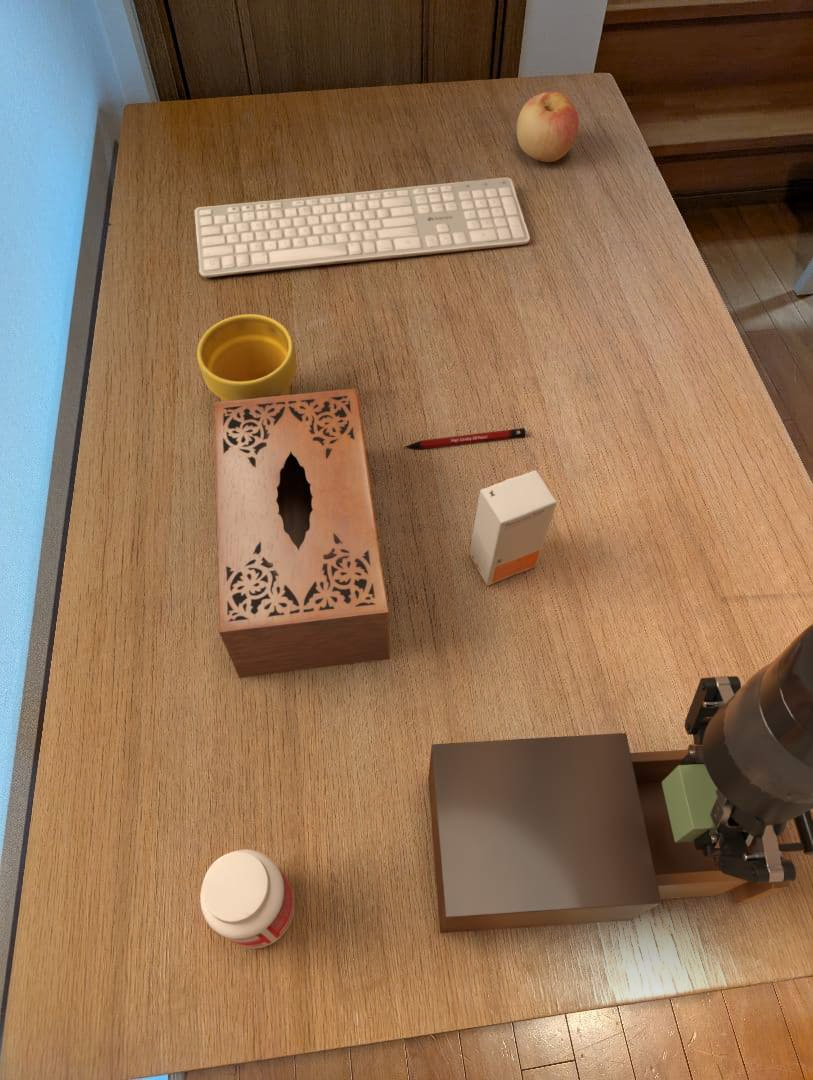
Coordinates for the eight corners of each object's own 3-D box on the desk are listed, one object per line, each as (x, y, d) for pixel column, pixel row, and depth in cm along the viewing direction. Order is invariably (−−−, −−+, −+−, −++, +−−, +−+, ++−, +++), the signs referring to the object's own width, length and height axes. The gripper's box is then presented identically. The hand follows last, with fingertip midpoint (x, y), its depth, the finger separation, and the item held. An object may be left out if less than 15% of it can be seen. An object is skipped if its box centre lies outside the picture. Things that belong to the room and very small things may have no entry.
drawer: (766, 761, 73) (802, 732, 67) (806, 899, 67) (851, 882, 61) (553, 774, 72) (568, 746, 66) (575, 914, 66) (594, 900, 60)
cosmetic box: (486, 588, 83) (499, 524, 73) (468, 555, 85) (477, 488, 75) (539, 567, 84) (558, 501, 74) (519, 535, 87) (536, 467, 76)
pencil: (403, 446, 93) (403, 441, 92) (523, 432, 94) (524, 426, 93) (404, 452, 92) (404, 447, 92) (524, 438, 94) (525, 432, 93)
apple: (558, 132, 125) (567, 79, 118) (582, 166, 120) (592, 113, 113) (504, 142, 123) (510, 89, 116) (526, 177, 119) (534, 124, 112)
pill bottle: (274, 853, 70) (255, 823, 60) (309, 920, 67) (294, 900, 57) (207, 895, 68) (176, 870, 58) (240, 966, 65) (213, 952, 56)
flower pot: (196, 423, 94) (176, 363, 86) (243, 364, 99) (229, 301, 91) (274, 455, 92) (262, 396, 84) (318, 392, 97) (311, 330, 88)
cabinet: (601, 767, 74) (626, 732, 65) (629, 920, 67) (661, 903, 59) (428, 777, 73) (431, 744, 65) (439, 933, 66) (445, 917, 58)
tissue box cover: (231, 462, 91) (214, 402, 83) (360, 448, 92) (356, 388, 84) (239, 677, 78) (219, 632, 69) (389, 658, 79) (388, 611, 70)
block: (718, 778, 64) (738, 761, 60) (734, 839, 61) (756, 825, 57) (661, 782, 63) (678, 765, 60) (674, 842, 61) (693, 829, 57)
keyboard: (201, 282, 107) (197, 267, 105) (197, 221, 113) (193, 206, 111) (530, 246, 111) (533, 231, 109) (509, 189, 117) (511, 174, 115)
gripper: (900, 862, 44) (775, 908, 59) (814, 622, 51) (722, 715, 66) (763, 871, 44) (671, 914, 58) (697, 628, 51) (630, 720, 66)
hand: (699, 808), depth 62 cm, fingers closed on block, 4 cm apart
